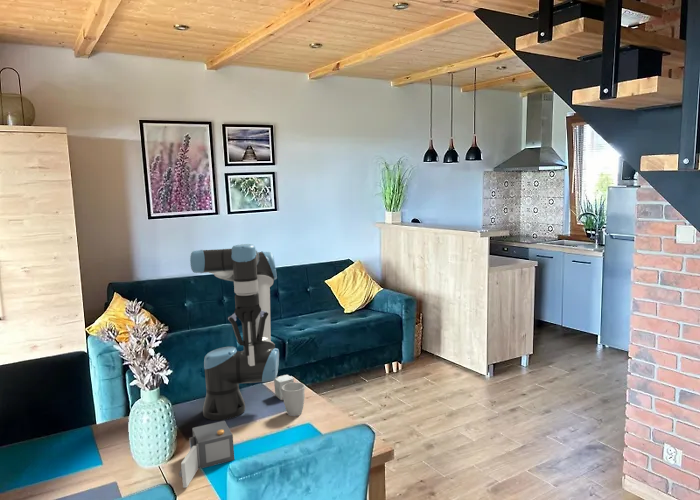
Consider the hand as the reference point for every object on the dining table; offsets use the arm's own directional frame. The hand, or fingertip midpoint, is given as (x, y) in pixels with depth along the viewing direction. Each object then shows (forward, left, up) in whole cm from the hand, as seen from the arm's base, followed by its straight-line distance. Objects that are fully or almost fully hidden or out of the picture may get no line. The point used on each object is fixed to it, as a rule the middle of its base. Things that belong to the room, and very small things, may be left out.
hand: (251, 364), depth 168 cm
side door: (+16, -24, -24) cm, 37 cm away
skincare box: (-27, +19, -25) cm, 41 cm away
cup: (-10, +17, -25) cm, 32 cm away
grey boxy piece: (+6, -15, -24) cm, 29 cm away
